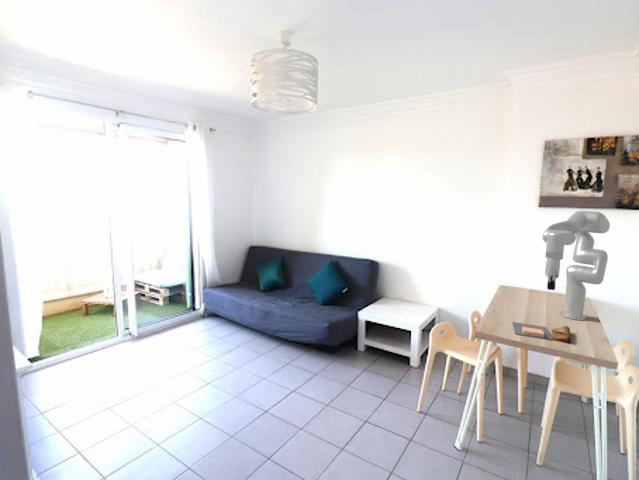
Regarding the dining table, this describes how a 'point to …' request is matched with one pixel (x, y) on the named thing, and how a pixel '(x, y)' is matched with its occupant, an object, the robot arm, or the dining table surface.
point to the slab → (533, 332)
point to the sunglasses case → (561, 334)
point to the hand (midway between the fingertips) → (550, 289)
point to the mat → (519, 327)
